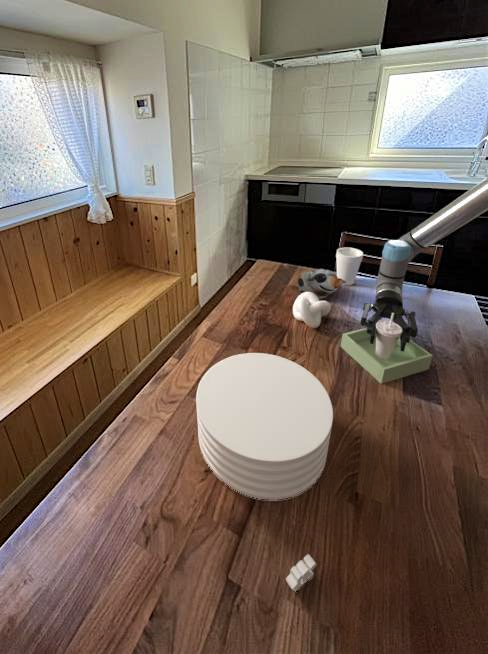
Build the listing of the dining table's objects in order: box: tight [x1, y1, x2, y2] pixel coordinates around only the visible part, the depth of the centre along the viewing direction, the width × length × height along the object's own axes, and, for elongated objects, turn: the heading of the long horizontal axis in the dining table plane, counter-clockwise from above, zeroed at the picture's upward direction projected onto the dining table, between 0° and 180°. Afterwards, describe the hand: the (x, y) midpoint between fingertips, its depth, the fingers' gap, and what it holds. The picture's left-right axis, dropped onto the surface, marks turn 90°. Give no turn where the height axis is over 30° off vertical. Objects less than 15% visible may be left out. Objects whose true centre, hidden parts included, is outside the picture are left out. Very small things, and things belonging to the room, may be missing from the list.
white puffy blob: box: [292, 292, 332, 329], centre depth 111 cm, size 11×12×9 cm
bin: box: [340, 327, 434, 384], centre depth 95 cm, size 16×16×5 cm
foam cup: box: [335, 246, 364, 286], centre depth 133 cm, size 10×9×13 cm
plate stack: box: [195, 352, 334, 502], centre depth 74 cm, size 28×28×12 cm
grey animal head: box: [296, 268, 346, 301], centre depth 125 cm, size 15×12×14 cm
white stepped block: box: [285, 553, 318, 593], centre depth 52 cm, size 5×1×4 cm, turn 120°
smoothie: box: [375, 313, 402, 360], centre depth 92 cm, size 6×6×14 cm
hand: (387, 343), depth 88 cm, fingers closed on smoothie, 6 cm apart
